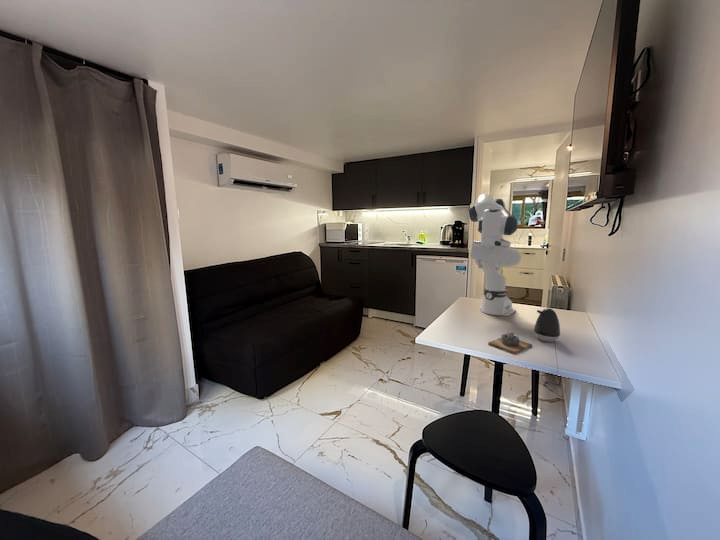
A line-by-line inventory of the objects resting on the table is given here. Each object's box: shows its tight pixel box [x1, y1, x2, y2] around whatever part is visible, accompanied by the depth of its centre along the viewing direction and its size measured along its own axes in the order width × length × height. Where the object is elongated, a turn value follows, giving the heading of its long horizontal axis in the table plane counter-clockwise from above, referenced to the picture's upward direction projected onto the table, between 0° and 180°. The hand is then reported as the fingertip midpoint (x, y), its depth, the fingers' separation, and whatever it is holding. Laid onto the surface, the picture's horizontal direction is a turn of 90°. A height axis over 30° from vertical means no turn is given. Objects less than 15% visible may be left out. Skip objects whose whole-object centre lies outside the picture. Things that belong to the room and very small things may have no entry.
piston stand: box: [488, 331, 533, 355], centre depth 131 cm, size 14×12×6 cm
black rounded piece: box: [533, 308, 561, 343], centre depth 136 cm, size 10×10×15 cm
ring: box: [500, 333, 520, 347], centre depth 131 cm, size 7×7×3 cm
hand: (488, 269), depth 148 cm, fingers open, 8 cm apart
